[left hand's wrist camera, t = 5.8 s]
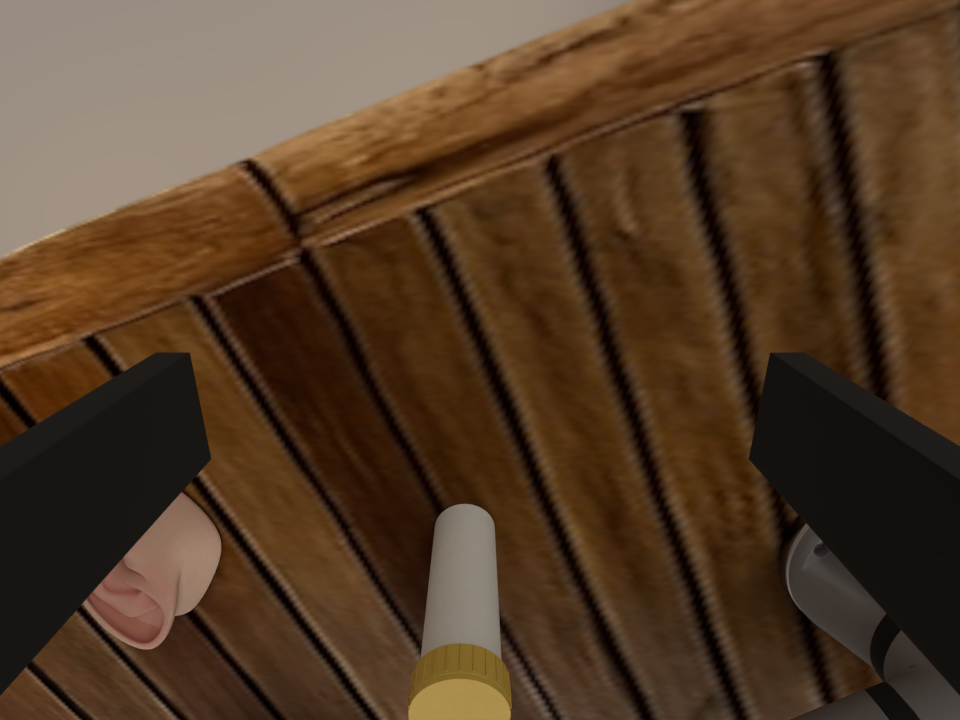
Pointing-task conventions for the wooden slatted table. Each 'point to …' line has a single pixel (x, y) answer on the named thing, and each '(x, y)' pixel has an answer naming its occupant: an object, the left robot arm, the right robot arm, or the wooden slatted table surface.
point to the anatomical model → (159, 576)
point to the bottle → (463, 582)
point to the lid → (460, 685)
